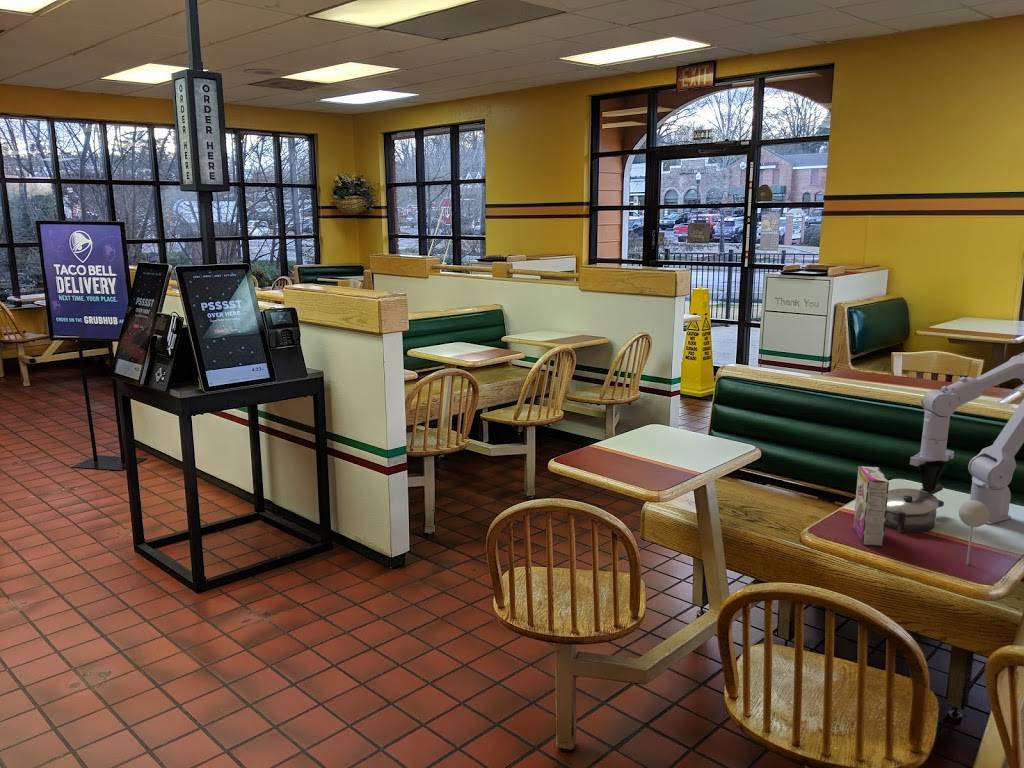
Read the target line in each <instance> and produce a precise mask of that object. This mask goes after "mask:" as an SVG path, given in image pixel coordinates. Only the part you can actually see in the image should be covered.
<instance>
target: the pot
mask: <svg viewBox="0 0 1024 768" xmlns="http://www.w3.org/2000/svg"><path fill="white" fill-rule="evenodd" d="M944 505H945V502H944V501H943V500H940V499H938V508H942V507H944ZM937 513H938V511H937V509H936V510H935V511H933V512H931V513H928V514H924V515H915V516H908V515H905V513H903V512H899V514H895V513H891V512H889V511H887V510H886V520H885V526H886V525H888V526H887V527H889V526H890V527H889V528H891V527H893V528H892V529H894V528H896V529H895V530H896V532H897V531H898V532H897V533H899V532H900V534H901V532H902V533H904V531H905V532H909V531H910V533H911V532H912V533H927V532H931V531H933V530H934V529H935V528H936V519H937ZM903 530H904V531H903ZM930 530H931V531H930ZM926 531H927V532H926Z"/></svg>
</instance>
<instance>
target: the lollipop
mask: <svg viewBox="0 0 1024 768" xmlns="http://www.w3.org/2000/svg"><path fill="white" fill-rule="evenodd" d="M958 517H959V519H960V521H961V522H962V523H963V524H964V525H966V526H968V527H970V530H969V538H968V539H969V541H968V545H967V546H968V547H967V548H968V549H967V555H966V563H965V564H966V565H967V566H968V565H969V562H970V555H971V548H972V542H973V533H974V528H979V527H982V526H984V525H985V524H987V523H986V522H987V521H988V519H989V511H988V509H987V507H986V506H985V505H984V504H983V503H981V502H979V501H975V500H971V501H970V500H967V501H965V502H963V503H962V504H961V505H960V507H959V509H958Z"/></svg>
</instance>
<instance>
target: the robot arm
mask: <svg viewBox="0 0 1024 768" xmlns="http://www.w3.org/2000/svg"><path fill="white" fill-rule="evenodd" d="M1013 379H1019V380H1021V382H1022V383H1023V384H1024V352H1021V353H1019V354H1018V355H1013V356H1012V357H1011V358H1009V360H1007V361H1006V362H1004V363H1002V364H1000V365H999V366H996V367H994V368H993V369H991V370H988V371H987V372H985V373H983V374H981V375H979V376H977V377H972V376H966V377H965V376H961V377H959V378H958V380H957V381H956V382H953V383H951V384H949V385H947V386H946V385H944V386H941V388H940V390H939V389H931V390H929V391H928V392H926V394H924V396H923V399H921V400H920V405H921V407H922V408H923V410H924V414H923V415H924V417H923V425H922V434H921V443H920V444H921V445H920V451H919V452H918V453H916V454H915V455H913V456H910V461H909V465H911V466H914V467H917V469H918V472H919V475H920V479H921V484H922V485H921V486H922V488H925V489H928V490H931V489H935V487H936V485H937V484H939V483H938V482H939V481H940V478H941V476H942V474H943V472H944V471H945V470H946V469H947V468H948V465H949V463H948V461H949V460H953V459H954V457H955V451H954V450H951V449H947V443H948V436H949V428H950V420H951V419H950V418H951V416H952V415H953V414H954V413H955V412H956V411H957V409H958V408H959V407H960V406H963V405H965V404H968V403H969V402H971V401H972V402H973V401H974V400H976V399H979V398H980V397H981V396H982V394H983V392H984V391H985V390H987V389H990V388H993V387H995V386H997V385H999V384H1002V383H1003V384H1004V383H1005V382H1008V381H1011V380H1013ZM1023 444H1024V398H1023V399H1022V400H1021V402H1020V403H1019V404H1018V406H1017V408H1016V409H1015V411H1014V412H1013V414H1012V415H1011V417H1010V418H1009V420H1008V421H1007V422H1006V424H1005V425H1004V427H1003V428H1002V430H1001V431H1000V432H999V434H998V436H997V438H996V439H995V440H994V441H993V444H991V445H990V446H987V447H984V448H981V450H980V452H979V453H978V454H977V455H975V456H974V457H972V458H971V459H970V460H969V463H968V465H967V469H968V473H969V474H970V475H971V480H972V481H971V487H970V488H971V489H970V495H969V497H970V498H969V501H971V500H975V501H979V502H981V503H983V504H984V505H985V506H986V507H987V509H988V511H989V519H988V521H987V522H986V523H985V524H988V525H992V524H996V523H999V522H1003V521H1006V520H1010V519H1012V516H1011V515H1009V511H1010V504H1011V497H1012V494H1011V490H1010V487H1008V485H1009V484H1010V483H1011V482H1012V479H1013V474H1014V472H1015V470H1016V468H1017V463H1016V459H1015V456H1016V454H1017V453H1018V452H1019V450H1020V449H1021V447H1022V446H1023Z"/></svg>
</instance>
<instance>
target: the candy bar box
mask: <svg viewBox="0 0 1024 768" xmlns="http://www.w3.org/2000/svg"><path fill="white" fill-rule="evenodd" d="M889 485H890V481H889V480H888V478H886V476H885V474H884V473H883V472H882V471H881V469H880V468H879V467H877V466H864V465H861V466H857V480H856V491H855V503H854V505H855V507H854V514H853V515H854V516H853V526H852V527H853V530H854V531H855V533H856V535H857V537H858V539H859V541H860V543H861V544H862V545H863V546H870V547H871V546H874V547H883V546H884V538H885V529H886V525H885V520H886V509H887V499H888V491H889Z"/></svg>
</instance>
